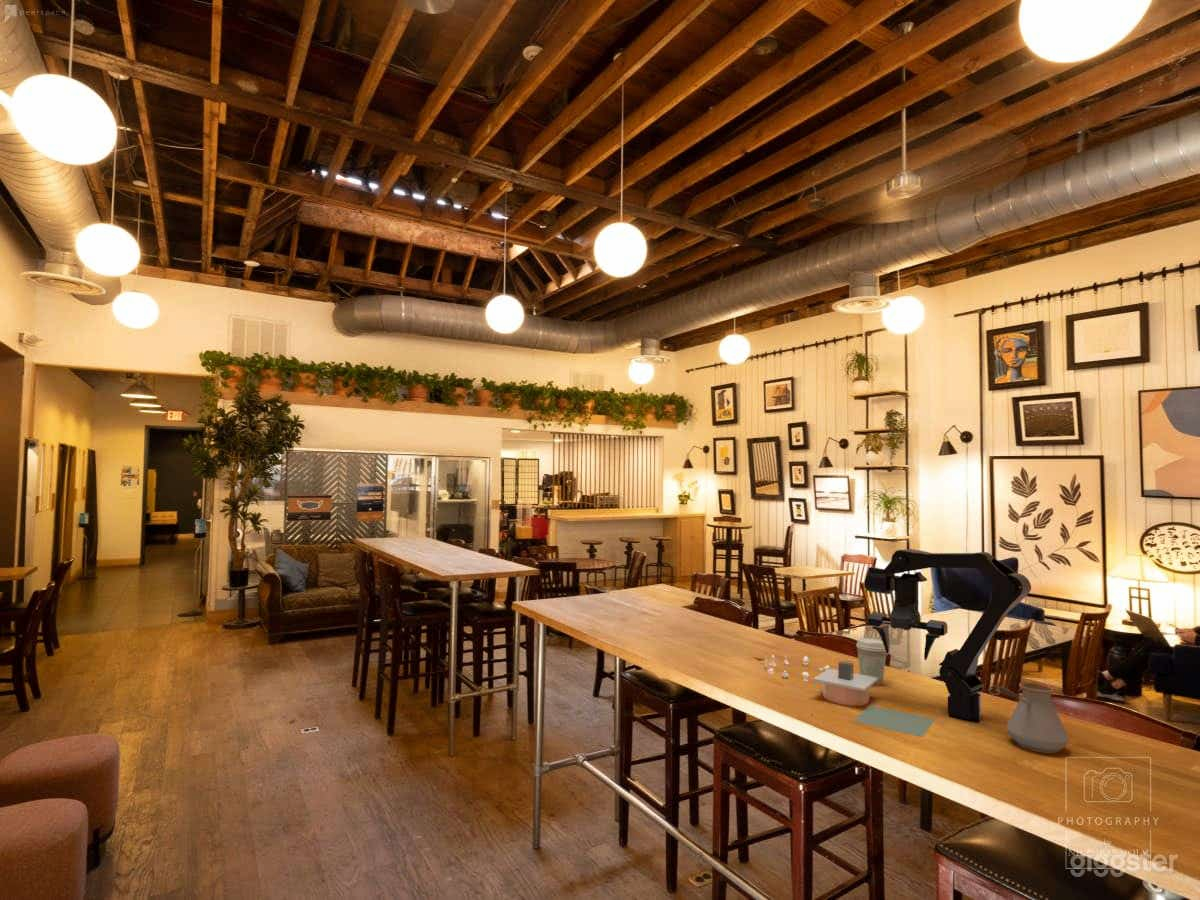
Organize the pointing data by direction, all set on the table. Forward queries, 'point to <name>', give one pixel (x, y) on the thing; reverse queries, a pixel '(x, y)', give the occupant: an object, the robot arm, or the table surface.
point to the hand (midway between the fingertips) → (906, 656)
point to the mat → (895, 721)
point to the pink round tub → (845, 695)
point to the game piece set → (805, 662)
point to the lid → (846, 677)
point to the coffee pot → (1035, 719)
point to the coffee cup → (872, 658)
